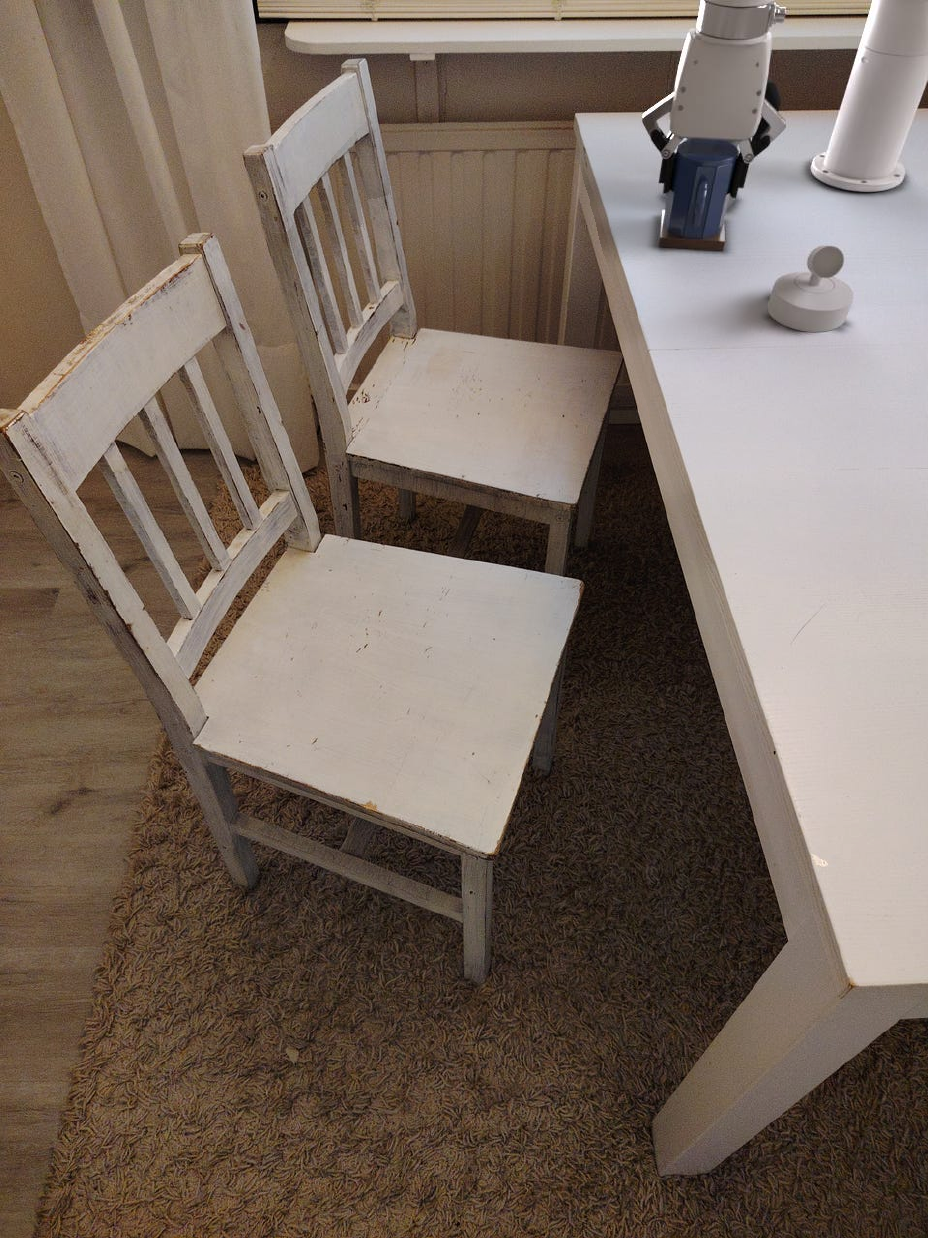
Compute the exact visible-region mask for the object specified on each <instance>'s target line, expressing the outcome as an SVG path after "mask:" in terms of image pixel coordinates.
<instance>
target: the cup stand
mask: <svg viewBox="0 0 928 1238" xmlns="http://www.w3.org/2000/svg"><path fill="white" fill-rule="evenodd" d="M664 214H665V209H662V210H661V216H660V227H659V238H658V239H659V241H658V247H659V248H670V249H672V248H673V249H685V250H686V249H687V250H702V251H715V252H716V251H718V252H723V251H724V248H725V244H726V230H725V227H726V226H725V221H724V222H723V227H722V229H721V230H720V231H719V233H718V234H716V235H715V236H711V237H707V238H703V239H702V238H701V239H696V238H683V237H680V236H677V235H675V234H672V233H670V232H669V231H667V229H666V228H665V226H664V225H663V220H664Z"/></svg>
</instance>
